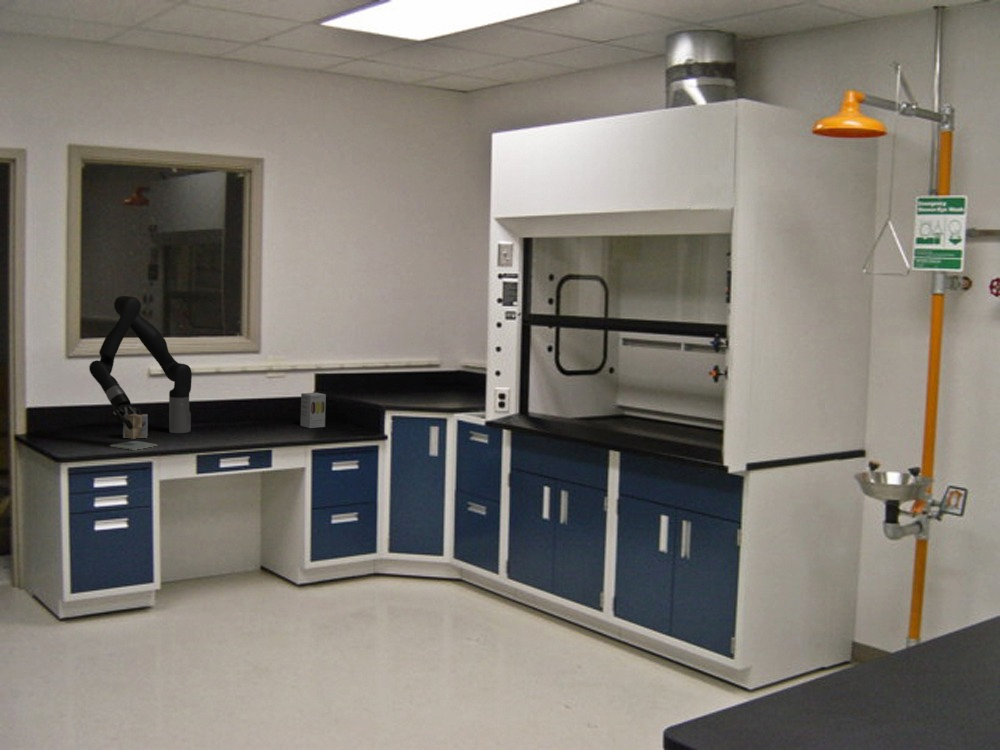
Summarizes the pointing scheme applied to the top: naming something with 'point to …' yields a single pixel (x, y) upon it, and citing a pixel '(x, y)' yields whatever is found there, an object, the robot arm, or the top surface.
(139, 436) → the beech block
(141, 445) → the sage tile
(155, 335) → the robot arm
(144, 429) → the light bulb box
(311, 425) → the supplement box
